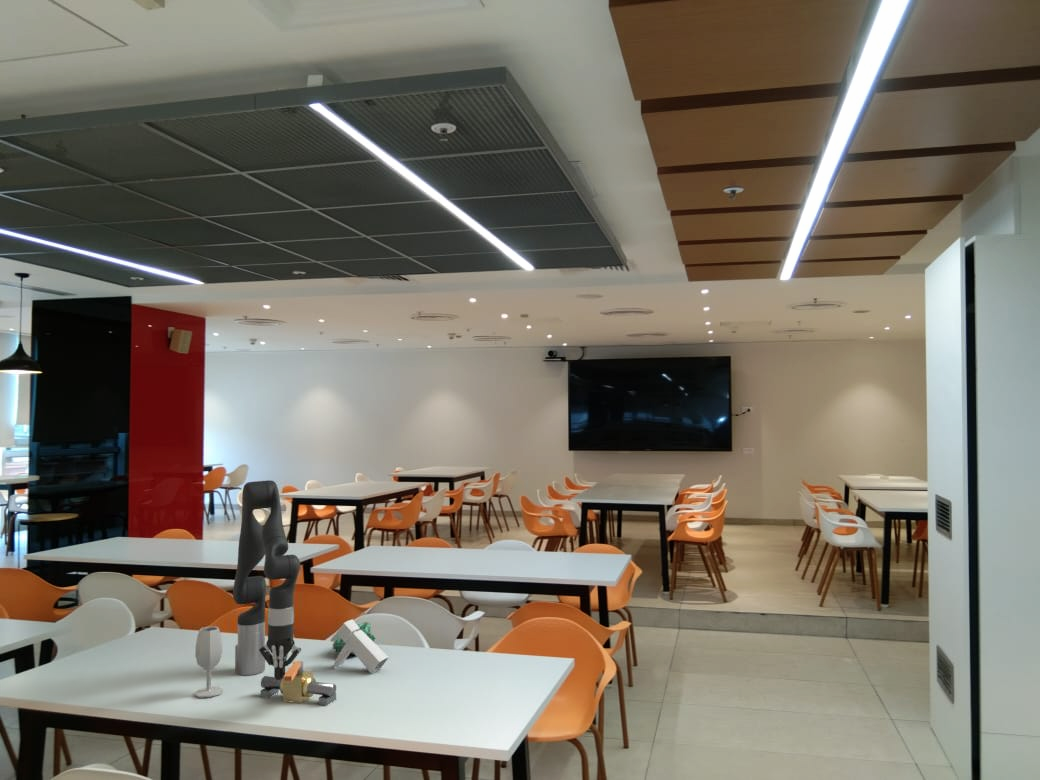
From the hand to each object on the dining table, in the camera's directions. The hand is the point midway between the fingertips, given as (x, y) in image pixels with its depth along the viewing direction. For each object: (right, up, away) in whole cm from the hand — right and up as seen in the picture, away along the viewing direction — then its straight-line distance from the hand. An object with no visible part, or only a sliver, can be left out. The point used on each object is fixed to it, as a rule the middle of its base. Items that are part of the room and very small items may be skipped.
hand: (279, 679), depth 227 cm
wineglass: (-29, -12, +17) cm, 35 cm away
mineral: (+10, -13, +60) cm, 62 cm away
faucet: (+16, -12, +39) cm, 44 cm away
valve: (+2, -11, +11) cm, 15 cm away
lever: (+3, -2, +5) cm, 6 cm away
